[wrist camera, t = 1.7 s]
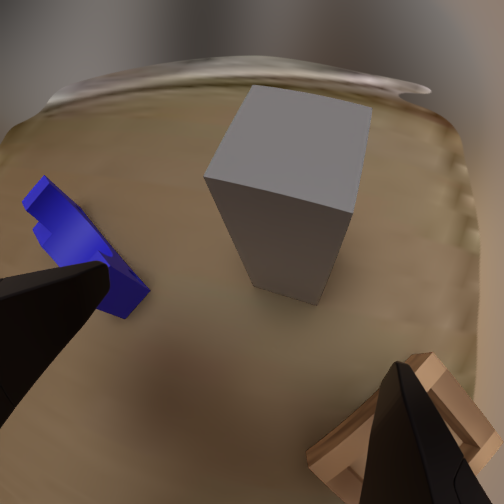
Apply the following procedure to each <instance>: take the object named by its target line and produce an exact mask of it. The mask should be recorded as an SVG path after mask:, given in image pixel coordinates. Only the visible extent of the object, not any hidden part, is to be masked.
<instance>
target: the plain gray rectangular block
mask: <svg viewBox="0 0 504 504" xmlns="http://www.w3.org/2000/svg"><path fill="white" fill-rule="evenodd" d="M371 115H372V108H371V107H367V106H363V105H359V104H355V103H351V102H347V101H343V100H339V99H334V98H330V97H325V96H320V95H315V94H310V93H304V92H299V91H293V90H287V89H280V88H274V87H266V86H258V85H253V86H252V87H251V89H250V91H249V92H248V94H247V96H246V98H245V99H244V101H243V103H242V105H241V107H240V108H239V110H238V112H237V114H236V115H235V117H234V119H233V121H232V123H231V125H230V126H229V128H228V130H227V132H226V134H225V136H224V138H223V139H222V141H221V143H220V145H219V147H218V149H217V151H216V153H215V155H214V157H213V158H212V160H211V162H210V164H209V166H208V168H207V170H206V172H205V174H204V176H203V177H204V179H205V181H206V183H207V186H208V188H209V190H210V192H211V194H212V197H213V199H214V201H215V203H216V205H217V208H218V210H219V212H220V214H221V216H222V219H223V221H224V223H225V225H226V227H227V230H228V232H229V234H230V236H231V238H232V240H233V243H234V245H235V247H236V249H237V251H238V253H239V256H240V258H241V260H242V262H243V264H244V266H245V269H246V271H247V273H248V275H249V277H250V279H251V281H252V284H253V286H255V287H258V288H261V289H264V290H268V291H271V292H274V293H277V294H281V295H284V296H287V297H290V298H294V299H297V300H300V301H304V302H307V303H310V304H314V305H317V304H318V302H319V300H320V297H321V295H322V292H323V290H324V288H325V285H326V283H327V280H328V278H329V275H330V273H331V270H332V268H333V265H334V263H335V260H336V258H337V255H338V252H339V250H340V247H341V245H342V242H343V239H344V237H345V234H346V231H347V228H348V226H349V223H350V220H351V217H352V215H353V211H354V206H355V202H356V197H357V192H358V188H359V183H360V178H361V173H362V167H363V162H364V157H365V151H366V145H367V140H368V134H369V127H370V121H371Z"/></svg>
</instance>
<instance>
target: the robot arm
mask: <svg viewBox="0 0 504 504" xmlns="http://www.w3.org/2000/svg"><path fill="white" fill-rule="evenodd" d="M109 290H110V277H109V268H108V266H107V264H105V263H103V262H101V261H97V260H96V261H90V262H85V263H79V264H74V265H69V266H63V267H58V268H53V269H47V270H42V271H37V272H32V273H27V274H21V275H16V276H11V277H6V278H4V279H3V278H1V279H0V428H1V427H2V425H3V424H4V423H5V421H6V420H7V419H8V417H9V416H10V415H11V413H12V412H13V411H14V409H15V407H16V406H17V405H18V404H19V402H20V401H21V400H22V399H23V397H24V396H25V395H26V393H27V392H28V391H29V390H30V388H31V387H32V386H33V385H34V383H35V382H36V381H37V380H38V378H39V377H40V376H41V375H42V373H43V372H44V371H45V370H46V369H47V367H48V366H49V365H50V364H51V363H52V361H53V360H54V359H55V358H56V357H57V355H58V354H59V353H60V352H61V351H62V350H63V348H64V347H65V346H66V345H67V344H68V343H69V341H70V340H71V339H72V338H73V337H74V336H75V335H76V333H77V332H78V331H79V330H80V329H81V328H82V327H83V325H84V324H85V323H86V322H87V320H88V319H89V318H90V316H91V315H92V313H93V312H94V311H95V309H96V308H97V307H98V305H99V304H100V303H101V301H102V300H103V299H104V297H105V296H106V295H107V293H108V292H109ZM359 504H492V503H491V501H490V499H489V498H488V496H487V495H486V493H485V491H484V490H483V488H482V486H481V485H480V484H479V482H478V480H477V478H476V476H475V474H474V473H473V471H472V469H471V467H470V465H469V464H468V462H467V460H466V458H464V455H463V453H462V451H461V449H460V447H459V446H458V444H457V442H456V440H455V439H454V437H453V435H452V433H451V432H450V430H449V428H448V426H447V425H446V423H445V421H444V420H443V418H442V416H441V415H440V413H439V411H438V410H437V408H436V406H435V405H434V403H433V401H432V400H431V398H430V397H429V395H428V393H427V392H426V390H425V388H424V387H423V385H422V384H421V382H420V381H419V379H418V377H417V376H416V374H415V373H414V371H413V370H412V368H411V367H410V365H409V364H407V363H403V362H399V361H396V362H394V363H393V364H392V366H391V368H390V369H389V371H388V372H387V374H386V376H385V377H384V379H383V381H382V383H381V385H380V389H379V394H378V399H377V404H376V409H375V414H374V418H373V423H372V427H371V432H370V437H369V445H368V452H367V459H366V466H365V473H364V479H363V484H362V490H361V495H360V501H359Z"/></svg>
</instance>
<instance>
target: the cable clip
mask: <svg viewBox="0 0 504 504" xmlns="http://www.w3.org/2000/svg"><path fill="white" fill-rule="evenodd" d="M22 203H23V205H24V207H25V209H26V211H27V212H28V213H30V214H31V215H32V216H33V217H35V218H36V219H37V220H38V221H39V222H38V223H37V224H36V226H35V227H34V228H33V232H34V234H35V235H36V237H37V239H38V241H39V243H40V245H41V247H42V248H43V249H44V250H45V251H46V252H47V253H48V254H49V255H50V256H51V257H52V259H53V260H54V261H55V262H56V263H57V264H58V266H59V267H63V266H69V265H74V264H79V263H85V262H90V261H96V260H97V261H101V262H103V263H105V264H107V266H108V268H109V277H110V290H109V292H108V293H107V295H106V296H105V297H104V299H103V300H102V301H101V303H100V304H99V305H98V307H97V308H96V309H99V310H101V311H104V312H107V313H109V314H112V315H115V316H118V317H120V318H123V319H126V318H127V317H128V315H129V314H130V313H131V312H132V311H133V310H134V309H135V308H136V306H137V305H138V304H139V303H140V302H141V301H142V300H143V299H144V297H145V296H146V295H147V294H148V293H149V292H150V291H151V290H150V289H149V288H148V287H147V286H146V285H145V284H144V283H143V282H142V281H141V280H140V278H139V277H138V276H137V275H136V274H135V273H134V272H133V271H132V269H131V268H130V267H129V266H128V265H127V264H126V263H125V262H124V260H123V259H122V258H121V257H120V256H119V255H118V253H117V252H116V251H115V250H114V249H113V248H112V246H111V245H110V244H109V243H108V242H107V240H106V239H105V238H104V237H103V236H102V234H101V233H100V232H99V231H98V229H97V228H96V227H95V226H94V224H93V223H92V222H91V221H90V219H89V218H88V217H87V216H86V214H85V213H84V212H83V211H82V209H81V208H80V207H79V206H78V205H77V204H76V203H75V202H73V201H72V200H71V199H70V198H69V197H68V196H67V195H66V194H65V193H63V192H62V191H61V190H60V189H59V188H58V187H57V186H56V185H55V184H54V183H52V182H51V181H50V180H49V179H48V178H47V177H46V176H45V175H44V176H43V177H42V178H41V179H40V180H39V182H38V183H37V184H36V185H35V186H34V187H33V189H32V190H31V191H30V192H29V193H28V195H27V196H26V197H25V198H24V200H23V201H22Z"/></svg>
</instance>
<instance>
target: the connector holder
mask: <svg viewBox="0 0 504 504" xmlns="http://www.w3.org/2000/svg"><path fill="white" fill-rule="evenodd" d="M405 363H407V364H409V365H410V367H411V368H412V370H413V371H414V373H415V374H416V376H417V377H418V379H419V381H420V382H421V384H422V385H423V387H424V388H425V390H426V392H427V393H428V395H429V397H430V398H431V400H432V401H433V403H434V405H435V406H436V408H437V410H438V411H439V413H440V415H441V416H442V418H443V420H444V421H445V423H446V425H447V426H448V428H449V430H450V432H451V433H452V435H453V437H454V439H455V440H456V442H457V444H458V446H459V447H460V449H461V451H462V453H463V455H464V458H466V460H467V462H468V464H469V465H470V467H471V469H472V471H473V473H474V474H475V476H476V475H477V474H478V473H479V472H480V470H482V468H483V467H484V466H485V465H486V464H487V463H488V461H489V460H490V459H491V458H492V456H493V455H494V454H495V453H496V451H497V450H498V449H499V447H500V446H501V445H502V444H503V440H502V439H501V437H500V436H499V435H498V433H497V432H496V431H495V429H494V428H493V427H492V425H491V424H490V422H489V421H488V420H487V418H486V417H485V416H484V415H483V413H482V412H481V411H480V409H479V408H478V407H477V405H476V404H475V403H474V402H473V400H472V399H471V398H470V396H469V395H468V394H467V393H466V391H465V390H464V389H463V388H462V386H461V385H460V384H459V383H458V381H457V380H456V379H455V378H454V377H453V375H452V374H451V373H450V372H449V371H448V369H447V368H446V367H445V366H444V364H443V363H442V362H441V361H440V360H439V359H438V357H437V356H436V355H435V354H434V353H433V352H429V353H422V354H415V355H411V356H410V357H409V358H408V359H407V361H406V362H405ZM379 389H380V388H379ZM379 389H378V390H377V391H376V392H375V393H374V394H373V395H372V396H371V397H370V398H369V399H368V400H367V401H366V402H365V403H364V404H362V405H361V406H360V407H359V408H358V409H357V410H356V411H355V412H354V413H352V414H351V415H350V416H349V417H348V418H347V419H346V420H344V421H343V422H342V423H341V424H340V425H339V426H337V427H336V428H335V429H334V430H332V431H331V432H330V433H329V434H328V435H326V436H325V437H324V438H323V439H321V440H320V441H319V442H317V443H316V444H315V445H314V446H312V447H311V448H310V449H308V450H307V451H306V457H307V463H308V468H309V469H310V470H311V471H312V472H313V473H314V474H315V475H316V476H317V477H318V478H319V479H320V480H321V481H322V482H323V483H324V484H325V485H326V486H327V487H329V488H330V489H331V490H332V491H333V492H334V493H335V494H336V495H337V496H338V497H339V498H340V499H341V500H343V501H344V502H345V503H346V504H359V501H360V495H361V490H362V484H363V479H364V473H365V466H366V459H367V452H368V445H369V437H370V432H371V427H372V423H373V418H374V414H375V409H376V404H377V399H378V394H379Z"/></svg>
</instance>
